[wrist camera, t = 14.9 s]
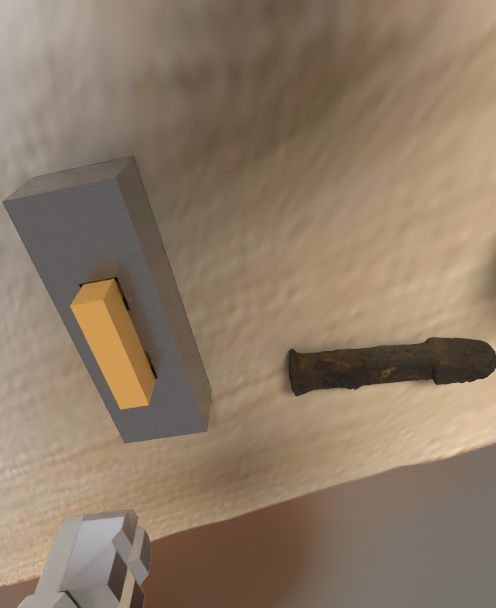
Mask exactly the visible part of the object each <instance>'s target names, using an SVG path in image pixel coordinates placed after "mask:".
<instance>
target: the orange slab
mask: <svg viewBox="0 0 496 608" xmlns="http://www.w3.org/2000/svg"><path fill="white" fill-rule="evenodd" d="M123 297H124V293H123V291H122V288H121V286H120V283H119V281H118V278H117V277H114V278H109V279H104V280H98V282H93V283H88V284H83V286H82V287H81V289H80V291H79V292H78V294H77V295H76V297H75V299H74V300H73V302H72V304H71V305H70V307H71V309H72V311H73V313H74V315H75V317H76V319H77V321H78V323H79V325H80V327H81V330H82V332H83V334H84V336H85V338H86V340H87V342H88V344H89V346H90V348H91V350H92V352H93V354H94V356H95V358H96V360H97V362H98V365H99V367H100V369H101V371H102V373H103V375H104V377H105V379H106V381H107V383H108V385H109V387H110V389H111V391H112V393H113V395H114V397H115V399H116V402H117V404H118V406H119V408H120V410H121V409H127V408H134V407H140V406H147V405H149V404H150V400H151V396H152V392H153V388H154V384H155V377H154V375H153V372H152V370H151V364H152V362H151V360H150V357H149V355H148V352H147V351H145V352H144V350H143V348H142V346H141V343H140V341H139V338H138V336H137V333H136V331H135V329H134V326H133V324H132V321H131V319H130V316H129V314H128V312H127V309H126V307H125V304H124V302H123Z"/></svg>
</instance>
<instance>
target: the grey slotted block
mask: <svg viewBox="0 0 496 608" xmlns="http://www.w3.org/2000/svg"><path fill="white" fill-rule="evenodd" d="M2 202H3V204H4V206H5V208H6V210H7V212H8V214H9V216H10V218H11V220H12V222H13V224H14V226H15V228H16V230H17V232H18V233H19V235H20V237H21V239H22V241H23V243H24V245H25V247H26V249H27V251H28V253H29V255H30V257H31V259H32V261H33V263H34V265H35V267H36V269H37V271H38V273H39V275H40V277H41V279H42V281H43V283H44V285H45V287H46V289H47V291H48V293H49V295H50V297H51V299H52V301H53V303H54V305H55V307H56V309H57V311H58V312H59V314H60V316H61V318H62V320H63V322H64V324H65V326H66V328H67V330H68V332H69V334H70V336H71V338H72V340H73V342H74V344H75V346H76V348H77V350H78V352H79V354H80V356H81V358H82V360H83V362H84V364H85V366H86V368H87V370H88V372H89V374H90V376H91V378H92V380H93V382H94V384H95V386H96V388H97V390H98V391H99V393H100V395H101V397H102V399H103V401H104V403H105V405H106V407H107V409H108V411H109V413H110V415H111V417H112V419H113V421H114V423H115V425H116V427H117V429H118V431H119V433H120V435H121V437H122V439H123V441H124V443H130V442H137V441H144V440H151V439H158V438H164V437H171V436H178V435H185V434H192V433H199V432H206V431H207V430H208V420H209V410H210V400H211V387H210V384H209V381H208V378H207V375H206V372H205V369H204V366H203V363H202V360H201V357H200V354H199V351H198V348H197V345H196V342H195V339H194V336H193V333H192V330H191V327H190V324H189V321H188V318H187V315H186V312H185V309H184V306H183V303H182V300H181V297H180V294H179V291H178V288H177V285H176V282H175V279H174V276H173V273H172V270H171V267H170V264H169V261H168V258H167V255H166V252H165V249H164V246H163V243H162V240H161V237H160V234H159V231H158V228H157V225H156V222H155V219H154V216H153V213H152V210H151V206H150V203H149V200H148V197H147V194H146V191H145V188H144V185H143V182H142V179H141V176H140V173H139V170H138V167H137V164H136V161H135V158H134V156H130V157H125V158H121V159H116V160H112V161H107V162H102V163H98V164H93V165H88V166H84V167H79V168H74V169H70V170H65V171H61V172H56V173H51V174H47V175H42V176H37V177H34V178H33V179H32V180H30V181H29V182H28V183H26V184H25V185H24V186H22V187H21V188H20V189H18V190H17V191H16V192H14V193H13V194H12V195H10V196H9V197H8V198H6V199H5V200H4V201H2ZM114 277H117V278H118V281H119V283H120V286H121V288H122V291H123V293H124V297H123V302H124V304H125V307H126V309H127V312H128V314H129V316H130V319H131V321H132V324H133V326H134V329H135V331H136V333H137V336H138V338H139V341H140V343H141V346H142V348H143V350H144V352H145V351H147V352H148V355H149V357H150V360H151V362H152V364H151V370H152V372H153V375H154V377H155V384H154V388H153V392H152V396H151V400H150V404H149V405H147V406H140V407H134V408H127V409H121V410H120V408H119V406H118V404H117V402H116V399H115V397H114V395H113V393H112V391H111V389H110V387H109V385H108V383H107V381H106V379H105V377H104V375H103V373H102V371H101V369H100V367H99V365H98V362H97V360H96V358H95V356H94V354H93V352H92V350H91V348H90V346H89V344H88V342H87V340H86V338H85V336H84V334H83V332H82V330H81V327H80V325H79V323H78V321H77V319H76V317H75V315H74V313H73V311H72V309H71V307H70V305H71V304H72V302H73V300H74V299H75V297H76V295H77V294H78V292H79V291H80V289H81V287H82V286H83V284H88V283H93V282H98V280H104V279H109V278H114Z"/></svg>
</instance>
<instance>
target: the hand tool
mask: <svg viewBox="0 0 496 608" xmlns="http://www.w3.org/2000/svg"><path fill="white" fill-rule="evenodd" d="M495 369H496V354H495V351H494V350H493V348H492V347H491V346H490V345H489V344H488V343H486V342H483V341H480V340H471V339H464V338H436V337H433V338H428V339H427V341H426V342H425V343H421V344H412V345H394V346H385V345H383V346H379V347H374V348H363V349H345V350H334V351H324V352H319V353H308V354H302V353H297V352H296V351H295V350H293V349H291V350H290V354H289V378H290V382H291V387H292V391H293V392H294V394H295V396H300V395H302V394H305V393H307V392H310V391H312V390H317V389H330V388H347V389H355V390H356V389H358V388H359V387H361V386H363V385H372V384H381V383H392V382H402V381H411V380H420V379H424V380H428V379H433V380H434V382H435V384H436V385H440V384H450V383H458V382H459V383H464V382H466V381H467V382H472V381H475V380H477V379H484V378H486V377H488V376H489V375H490V374H491V373H492V372H494V370H495Z"/></svg>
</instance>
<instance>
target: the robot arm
mask: <svg viewBox="0 0 496 608" xmlns="http://www.w3.org/2000/svg"><path fill="white" fill-rule="evenodd" d="M137 523H138V516H137V515H136V513H135V511H134V510H133V509H131V510H122V511H113V512H105V513H96V514H85V515H78V516H70V517H66V518H65V519H64V520H63V522H62V523H61V524H60V526H59V529H58V532H57V534H56V537H55V540H54V542H53V545H52V548H51V550H50V553H49V556H48V558H47V561H46V564H45V566H44V569H43V572H42V574H41V577H40V580H39V582H38V585H37V588H36V591H35V593H34V595H31V596H27V597H26V598H25V599H24V600H23V601H22V602H21V604H20V605H19V606H18V607H17V608H143V603H144V598H145V595H144V592H143V590H142V588H141V586H140V585H141V583H142V582H143V581H144V579H145V578H146V577H147V575H148V574H149V569H150V562H151V544H150V540H149V536H148V534H147V532H146V530H145V529H143V528H141V527H139V526H137Z"/></svg>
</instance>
